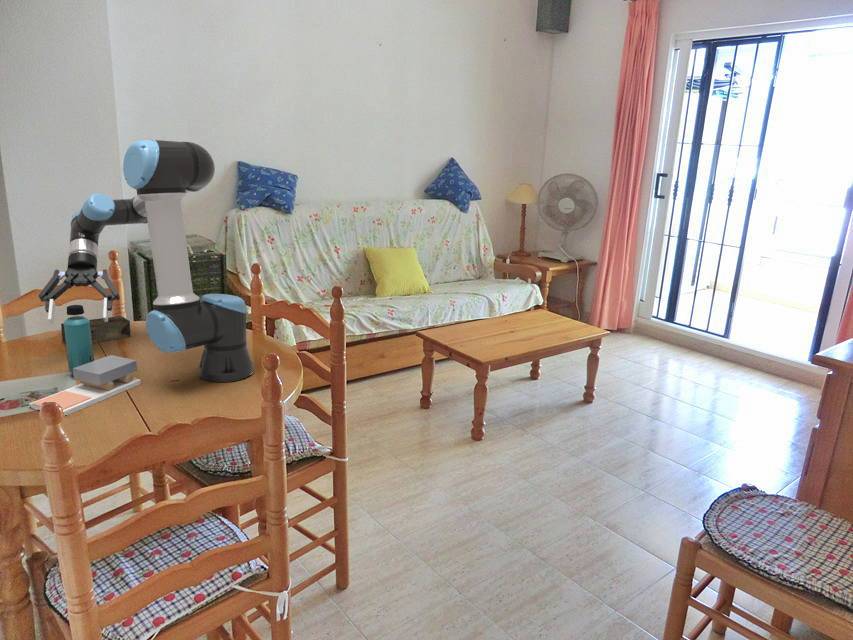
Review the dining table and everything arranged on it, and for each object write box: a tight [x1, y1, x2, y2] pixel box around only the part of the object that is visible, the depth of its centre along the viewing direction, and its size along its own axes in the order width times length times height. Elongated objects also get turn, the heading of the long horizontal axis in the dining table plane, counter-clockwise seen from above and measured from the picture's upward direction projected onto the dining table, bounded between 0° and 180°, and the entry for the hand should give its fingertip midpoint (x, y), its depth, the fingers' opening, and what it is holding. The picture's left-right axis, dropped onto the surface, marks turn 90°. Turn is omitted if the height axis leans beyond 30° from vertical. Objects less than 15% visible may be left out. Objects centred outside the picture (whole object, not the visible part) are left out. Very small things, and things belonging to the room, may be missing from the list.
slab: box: [72, 354, 138, 385], centre depth 162 cm, size 9×12×3 cm
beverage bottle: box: [63, 304, 95, 374], centre depth 168 cm, size 6×7×20 cm
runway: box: [28, 373, 142, 417], centre depth 158 cm, size 11×24×4 cm, turn 159°
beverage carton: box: [60, 315, 132, 344], centre depth 200 cm, size 8×19×7 cm, turn 135°
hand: (78, 320), depth 172 cm, fingers open, 13 cm apart
